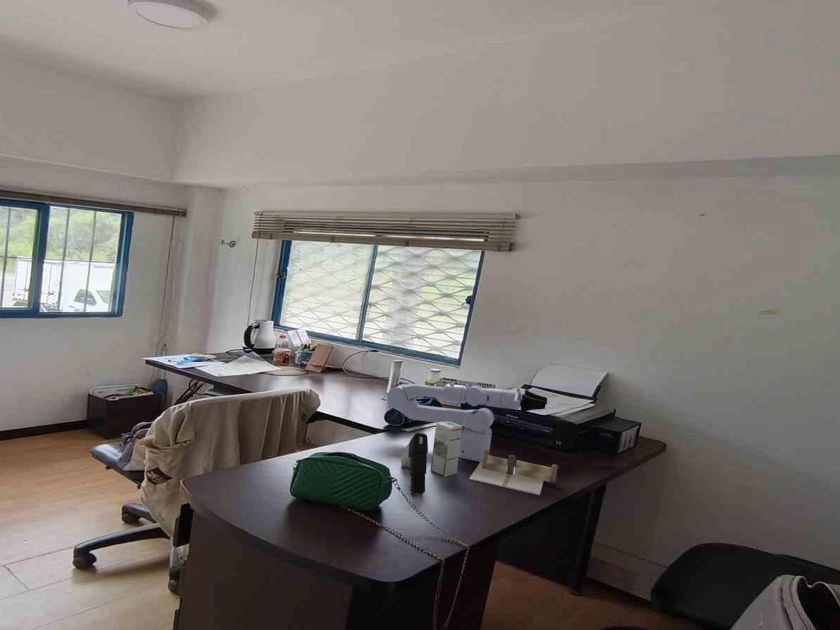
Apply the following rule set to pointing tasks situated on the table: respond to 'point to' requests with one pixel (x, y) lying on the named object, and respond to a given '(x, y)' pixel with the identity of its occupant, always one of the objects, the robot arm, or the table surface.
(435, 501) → the table surface
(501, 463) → the fixed fence section
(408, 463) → the handheld device
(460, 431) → the syrup box
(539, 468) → the beige long t-shaped piece
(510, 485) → the mat
